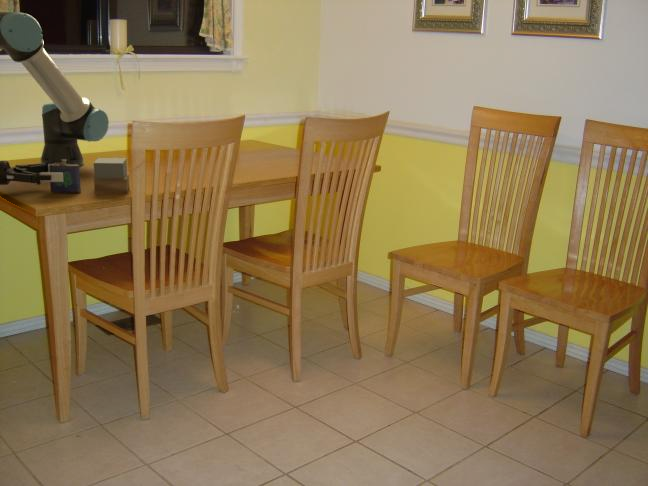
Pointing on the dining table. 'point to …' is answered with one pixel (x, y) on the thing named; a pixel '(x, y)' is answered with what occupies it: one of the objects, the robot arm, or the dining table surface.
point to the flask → (66, 178)
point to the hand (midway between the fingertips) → (66, 172)
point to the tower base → (112, 185)
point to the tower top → (110, 168)
